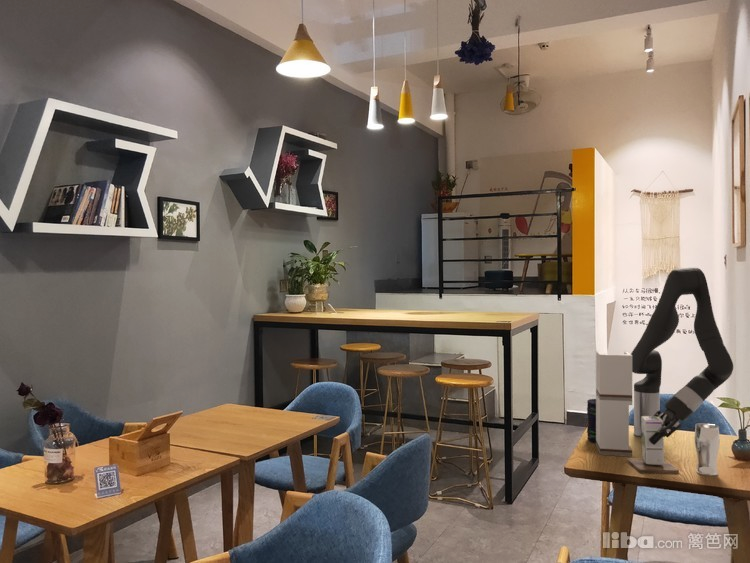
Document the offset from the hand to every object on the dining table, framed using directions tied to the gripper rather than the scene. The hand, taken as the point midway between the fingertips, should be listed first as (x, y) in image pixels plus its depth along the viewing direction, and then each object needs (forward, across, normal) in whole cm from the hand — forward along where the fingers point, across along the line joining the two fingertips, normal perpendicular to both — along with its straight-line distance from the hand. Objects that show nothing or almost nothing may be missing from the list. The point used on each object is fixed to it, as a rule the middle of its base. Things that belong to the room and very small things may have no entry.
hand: (647, 439), depth 202 cm
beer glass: (-5, +5, +18) cm, 20 cm away
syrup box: (+4, 0, +7) cm, 8 cm away
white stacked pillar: (+10, -19, +3) cm, 22 cm away
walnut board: (+5, 0, +8) cm, 9 cm away
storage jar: (+10, -32, +3) cm, 34 cm away
